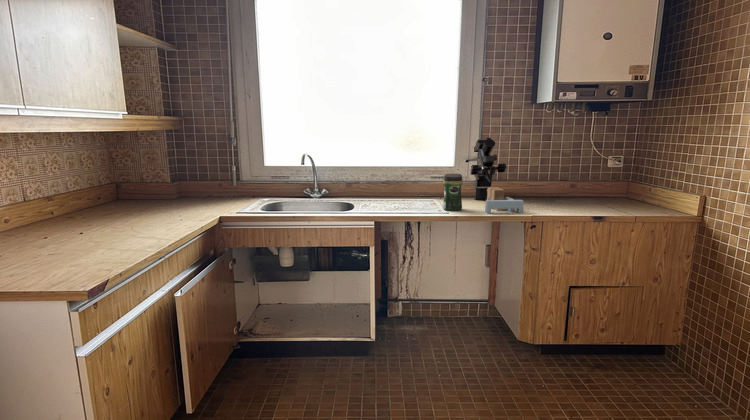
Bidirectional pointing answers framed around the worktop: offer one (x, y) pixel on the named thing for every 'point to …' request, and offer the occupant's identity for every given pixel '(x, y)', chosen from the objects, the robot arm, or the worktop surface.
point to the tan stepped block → (495, 195)
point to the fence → (504, 205)
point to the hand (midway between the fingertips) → (490, 181)
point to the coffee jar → (452, 192)
